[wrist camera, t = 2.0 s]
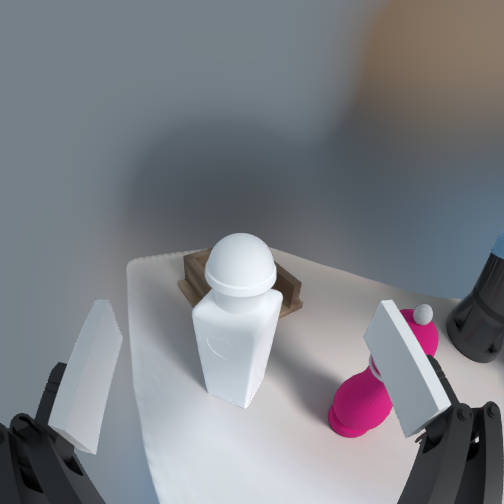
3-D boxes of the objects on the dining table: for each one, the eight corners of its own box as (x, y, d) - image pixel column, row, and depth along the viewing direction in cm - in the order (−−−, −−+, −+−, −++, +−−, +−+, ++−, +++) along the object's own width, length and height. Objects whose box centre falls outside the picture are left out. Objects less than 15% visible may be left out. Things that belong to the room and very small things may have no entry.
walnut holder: (249, 261, 58) (251, 236, 55) (301, 306, 47) (308, 279, 44) (178, 285, 50) (175, 258, 46) (221, 345, 39) (220, 317, 36)
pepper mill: (315, 404, 31) (372, 286, 20) (361, 388, 33) (427, 274, 22) (336, 449, 25) (425, 351, 14) (383, 428, 27) (475, 324, 16)
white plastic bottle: (201, 393, 31) (183, 245, 20) (225, 359, 37) (226, 213, 25) (247, 414, 29) (265, 271, 18) (268, 376, 34) (295, 230, 23)
